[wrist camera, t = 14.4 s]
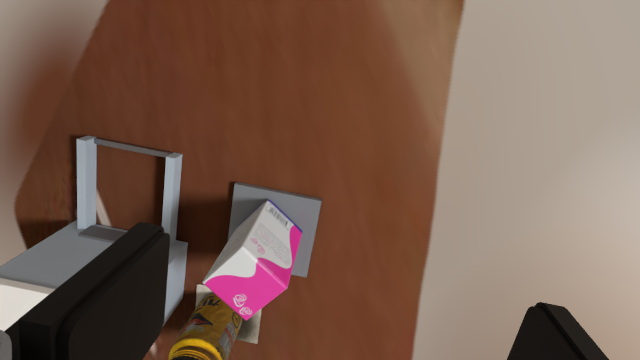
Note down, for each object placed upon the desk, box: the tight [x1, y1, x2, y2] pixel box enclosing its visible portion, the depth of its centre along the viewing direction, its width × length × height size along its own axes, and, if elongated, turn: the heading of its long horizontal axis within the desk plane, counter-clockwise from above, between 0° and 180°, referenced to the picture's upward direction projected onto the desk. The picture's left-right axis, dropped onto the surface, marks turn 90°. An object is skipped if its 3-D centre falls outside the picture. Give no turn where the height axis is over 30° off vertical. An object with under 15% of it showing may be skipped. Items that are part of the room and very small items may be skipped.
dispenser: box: [0, 136, 188, 331], centre depth 42 cm, size 19×14×14 cm
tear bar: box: [94, 137, 173, 158], centre depth 46 cm, size 1×9×1 cm, turn 79°
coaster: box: [228, 182, 322, 277], centre depth 47 cm, size 10×10×1 cm
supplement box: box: [203, 199, 302, 320], centre depth 41 cm, size 6×6×12 cm
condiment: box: [169, 285, 262, 360], centre depth 46 cm, size 7×8×12 cm
